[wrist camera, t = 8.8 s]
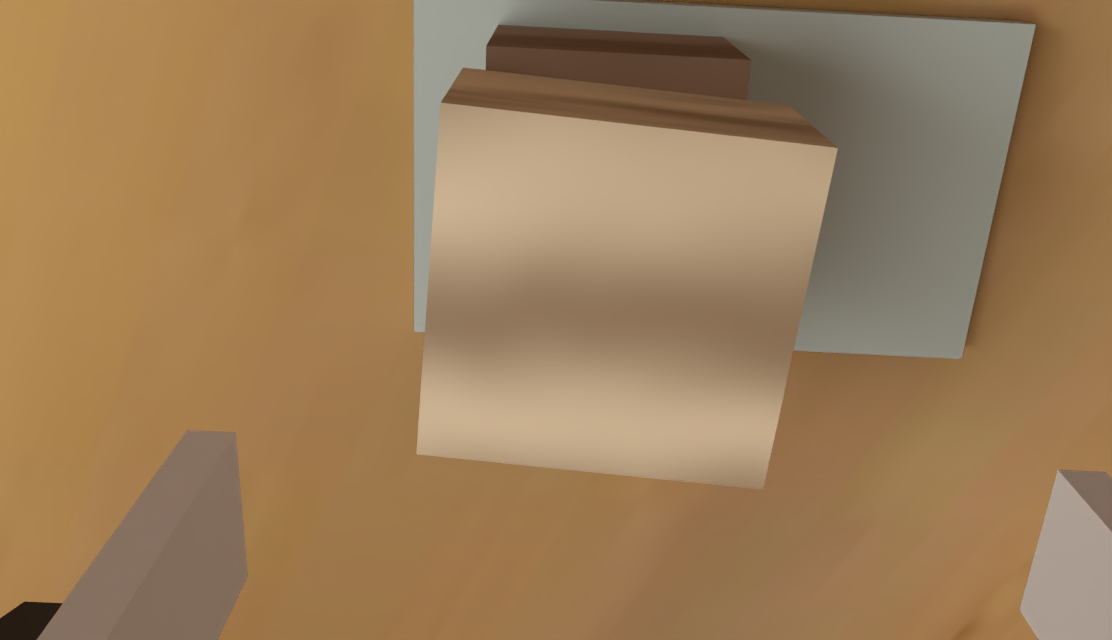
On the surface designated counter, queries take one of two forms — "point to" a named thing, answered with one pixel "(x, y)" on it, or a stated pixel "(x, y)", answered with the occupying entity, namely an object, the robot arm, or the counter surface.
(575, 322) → the oak brick
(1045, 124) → the counter surface
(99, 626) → the robot arm
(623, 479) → the counter surface
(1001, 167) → the board
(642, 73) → the walnut base brick
